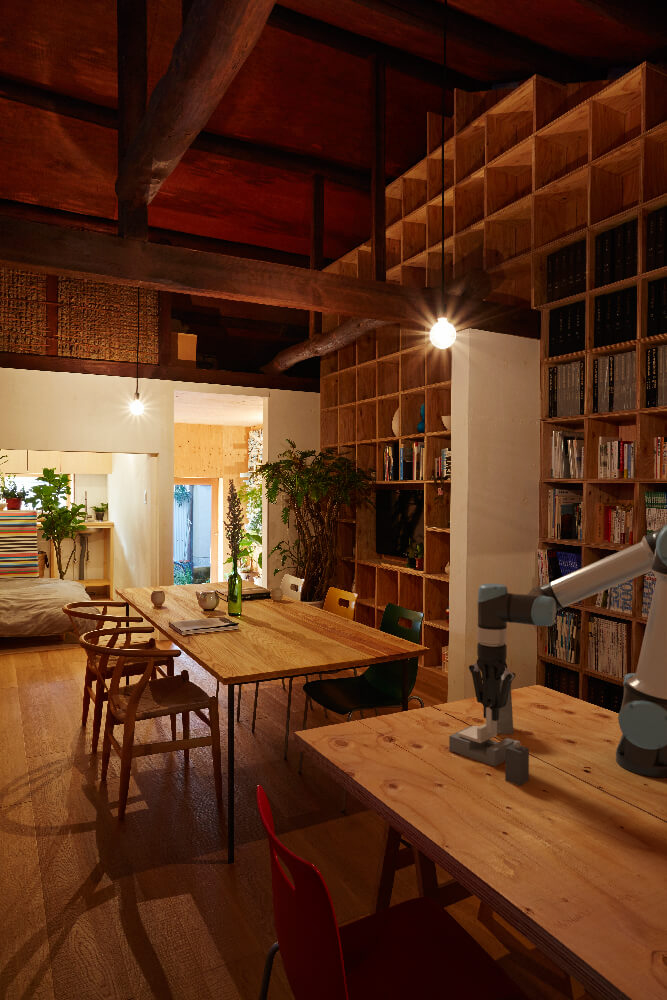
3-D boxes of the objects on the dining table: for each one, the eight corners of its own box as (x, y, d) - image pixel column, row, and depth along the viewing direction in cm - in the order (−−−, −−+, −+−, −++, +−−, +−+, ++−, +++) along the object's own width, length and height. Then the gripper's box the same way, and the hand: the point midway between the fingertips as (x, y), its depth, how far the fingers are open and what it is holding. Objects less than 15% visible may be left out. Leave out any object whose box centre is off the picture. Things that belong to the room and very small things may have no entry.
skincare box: (513, 734, 185) (514, 680, 185) (489, 734, 186) (489, 680, 185) (506, 724, 194) (506, 671, 194) (482, 723, 194) (483, 671, 194)
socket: (514, 755, 171) (515, 740, 171) (494, 766, 164) (494, 750, 164) (470, 740, 181) (470, 726, 181) (449, 750, 174) (449, 735, 174)
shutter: (496, 735, 174) (496, 721, 174) (480, 743, 168) (480, 728, 168) (474, 728, 179) (474, 714, 179) (458, 735, 173) (458, 721, 173)
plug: (528, 780, 156) (528, 741, 156) (520, 786, 154) (520, 746, 153) (513, 775, 159) (514, 737, 159) (505, 780, 157) (505, 741, 156)
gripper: (521, 644, 168) (520, 734, 169) (478, 636, 177) (477, 721, 178) (506, 649, 163) (505, 742, 163) (463, 640, 172) (462, 728, 173)
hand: (491, 731), depth 171 cm, fingers closed
